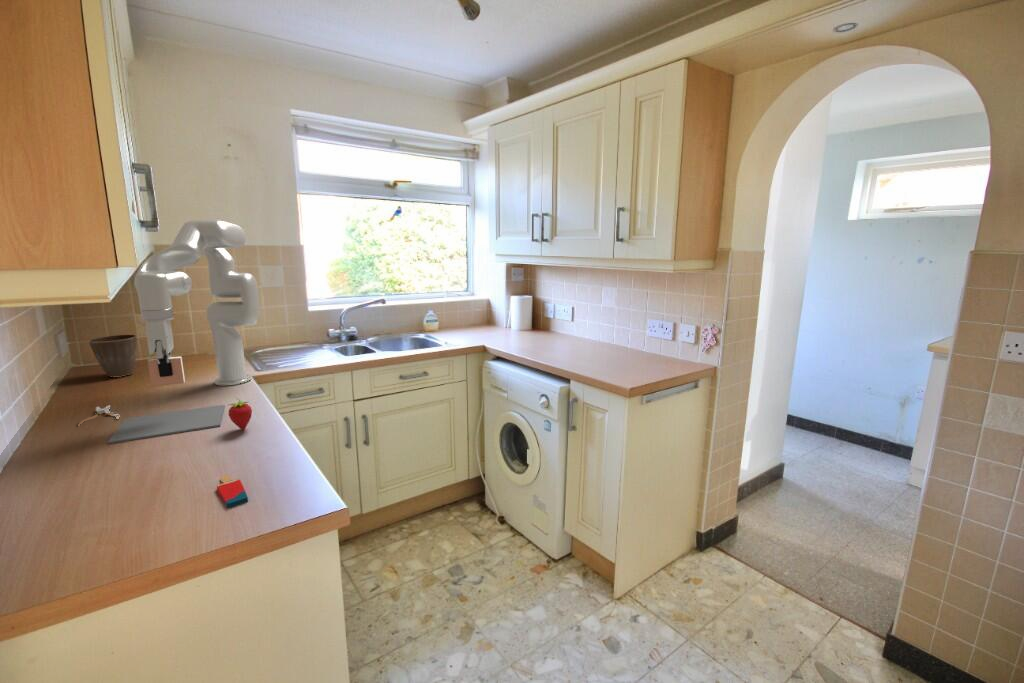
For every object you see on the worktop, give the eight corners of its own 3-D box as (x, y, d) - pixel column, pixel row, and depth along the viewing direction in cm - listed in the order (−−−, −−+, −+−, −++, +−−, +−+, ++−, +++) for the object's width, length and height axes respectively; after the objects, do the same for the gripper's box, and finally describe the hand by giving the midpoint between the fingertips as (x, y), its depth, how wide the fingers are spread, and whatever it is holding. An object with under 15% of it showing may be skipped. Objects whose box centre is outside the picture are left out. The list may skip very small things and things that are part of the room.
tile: (153, 384, 141) (149, 359, 139) (185, 381, 144) (181, 356, 143) (151, 386, 138) (147, 360, 137) (184, 383, 142) (180, 357, 141)
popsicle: (235, 470, 108) (249, 496, 97) (236, 476, 109) (250, 502, 98) (212, 477, 106) (224, 504, 94) (213, 483, 106) (225, 511, 95)
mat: (126, 419, 143) (126, 418, 143) (224, 406, 155) (224, 404, 155) (108, 444, 126) (107, 442, 126) (220, 426, 138) (219, 424, 137)
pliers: (75, 423, 138) (83, 408, 149) (76, 428, 138) (84, 413, 150) (118, 415, 143) (122, 402, 155) (119, 420, 144) (123, 407, 155)
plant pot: (95, 383, 181) (87, 343, 178) (97, 375, 193) (89, 337, 189) (143, 376, 191) (136, 338, 187) (142, 369, 202) (136, 333, 199)
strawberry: (231, 436, 130) (226, 402, 128) (230, 427, 137) (226, 395, 135) (254, 431, 133) (250, 398, 131) (253, 423, 140) (249, 391, 138)
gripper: (147, 312, 142) (157, 370, 146) (135, 319, 128) (146, 383, 132) (177, 311, 146) (186, 367, 149) (168, 317, 132) (178, 379, 136)
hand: (167, 374), depth 141 cm, fingers closed on tile, 2 cm apart
